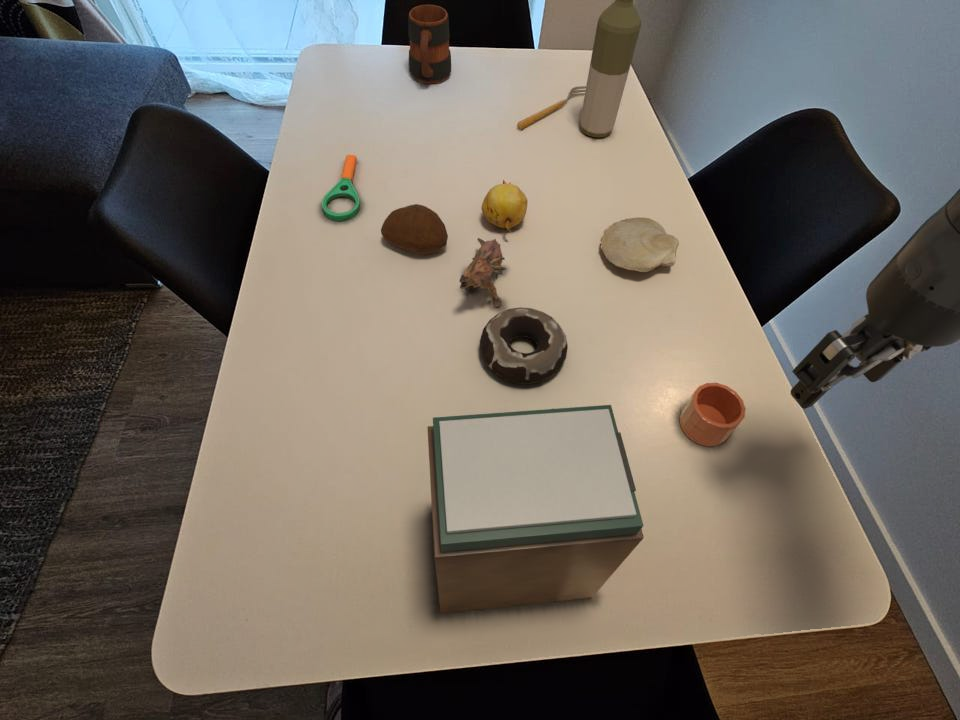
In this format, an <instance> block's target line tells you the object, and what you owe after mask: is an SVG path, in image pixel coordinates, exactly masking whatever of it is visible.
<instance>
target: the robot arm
mask: <svg viewBox="0 0 960 720" xmlns="http://www.w3.org/2000/svg"><path fill="white" fill-rule="evenodd" d="M865 301H866V304H867V305H866V306H867V314H865V315H862V316H861V317H860V318H859V319H858V320H856V321H855V322H853V323H852V325H851V327H850V329H849V330H847V331H845V332H844V333H842V334H841V333H840V332H839V330H837V329H835V330H831V331H829V332H827V333H826V334H825V335H824V336H823V338H822V339H820V341H819V342H818V343H817V344H816V345H815V346H814V347H813V348H812V349H811V350H810V352H809V353H808V354H806V356H804V358H803V359H802V360H801V361H800V362H799V363H798V364H797V365H796V366H795V367H794V368H793V369H792V374H793V375H794V376H795V377H796V378H797V380H799V381H797V383H796V384H795V385H794V386H793V387H792V388H791V389H790V395H791V397H792V399H794V401H795V402H796V403H797V404H798V406H800V408H801V409H804V410H805V409H807V408H808V409H809V408H811V407H814V405H815V404H816V403H817V402H818V401H819V400H820V399H821V398H822V397H823V396H824V395H825V394H826V393H827V392H828V391H830V390H831V389H833V387H834V386H836V385H838V384H839V383H841V382H842V381H844V380H845V379H847V378H851V379H858V378H859V377H861V376H862V375H863V376H864V377H865V378H866V379H867V380H868V381H869V382H871V383H875V382H876V383H877V382H878V381H881V380H882V379H883V378H884V377H885V376H887V374H889V373H890V372H891V371H892V370H894V368H896V367H897V366H898V365H899V364H900V363H902V362H904V361H907V360H908V361H909V360H911V359H912V358H913V357H914V356H915V355H916V354H918V353H919V352H921V353H923V352H925V351H929V350H931V349H932V348H936V347H946V346H950V345H953V344H955V343H956V342H958V341H960V188H958V189H957V191H956V192H955V193H954V194H953V195H952V196H951V197H950V199H948V200H947V201H946V202H945V204H944V205H942V206H941V207H940V208H939V209H938V210H937V211H935V212H934V213H933V214H932V215H930V216H929V217H928V218H927V219H926V220H925V221H924V222H923V223H922V224H921V225H920V226H919V227H918V229H917V230H916V231H915V232H914V233H913V234H912V235H911V237H909V239H908V240H907V241H906V242H905V243H904V244H903V245H902V246H901V248H899V250H898V251H897V252H896V253H895V254H894V256H893V257H892V258H891V259H890V260H889V261H888V262H887V264H885V266H884V267H883V268H882V269H881V270H880V271H879V273H877V274H876V276H875V277H874V278H873V279H872V281H870V283H869V284H868V287H867V288H866V293H865ZM855 358H856V359H857V360H858V361H859V362H860V363H858V365H856V366H854V365H853V364H852V363H853V362H854V361H853V360H854V359H855Z"/></svg>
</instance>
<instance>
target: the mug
mask: <svg viewBox="0 0 960 720" xmlns="http://www.w3.org/2000/svg"><path fill="white" fill-rule="evenodd" d="M407 17H408V19H407V21H408V39H409V50H408V69H409V71H408V72H409V73H410V75H411V76H412V77H413V79H414V80H415V81H417V82H419V83H421V84H428V85H434V84H435V85H436V84H439V83H443V82H445V81H446V80H447V79H448V78H449V76H450V75H451V73H452V54H451V50H450V49H451V48H450V38H451V37H450V19H449V18H450V17H449V13H448V12H447V10H446V9H445V8H443V7H442V6H439V5H435V4H421V5H417V6H415V7H413V8H411V9H410V11H409V12H408V15H407Z"/></svg>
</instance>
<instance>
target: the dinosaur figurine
mask: <svg viewBox="0 0 960 720" xmlns="http://www.w3.org/2000/svg"><path fill="white" fill-rule="evenodd" d="M476 240H477V241H478V243H479V244H480V247H479V248H478V250H476V253H475V254H474V256H473V257H472V258H471V259H472V261H471V262H470V263H469V264H468V266H467V267H466V270H465V271H464V272H462V274H460V279H459V283H460V285H459V288H460V289H461V290H463V289H465V290H467V291H468V292H471V291H472V292H474V291H475V289H476V288H479V287H480V288H481V289H483V290H486V289H487V290H488V291H490V294H491V295H492V297H493V305H494V308H495V309H496V308H499V309H500V308H501V307H503V304H502V303H503V301H502V299H501V297H499V296H498V293H497V288H496V286H495V283H494V282H493V279H494V278H495V279H496V280H497V279H498V276H497V275H503V271H505V270H506V269H507V267H505V266H502V263H503V261H505V260H506V258H505V257H503V253H502V249H501V244H500V243H499V242H498V241H497V239H496V238H494V239H491V240H486V241H485V240H483V239H481V238H479V237H478V238H477V239H476Z"/></svg>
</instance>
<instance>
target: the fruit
mask: <svg viewBox="0 0 960 720" xmlns="http://www.w3.org/2000/svg"><path fill="white" fill-rule="evenodd" d="M527 210H528V198H527V196H526V194H525V192H524V191H523V190H521V189H520V187H519V186H518V185H516V184H514V183H513V184H512V182H511V181H510V182H506V181H505V179H502V183H500V184H495V185H494V186H492V187H491V188H489V190H488V192H487V193H486V195H485V196H484V198H483V201H482V204H481V212H482V215H483V217H484V218H485V219H486V221H488V223H490V224H492V225H494V226H496V227H499V228H502V229H506V231H507V233H512V230H511V229H512V228H514V227H516V226H518V225H519V224H520V223H521V222H522V221H523V219H524V218H525V217H526V214H527Z"/></svg>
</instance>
